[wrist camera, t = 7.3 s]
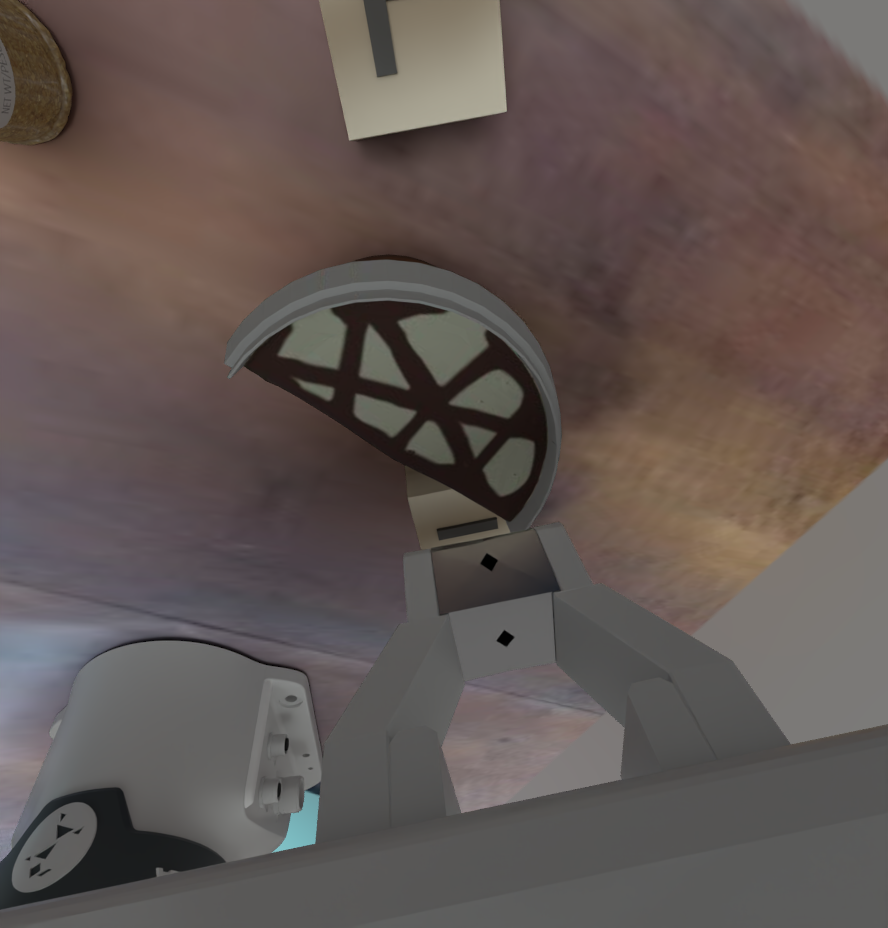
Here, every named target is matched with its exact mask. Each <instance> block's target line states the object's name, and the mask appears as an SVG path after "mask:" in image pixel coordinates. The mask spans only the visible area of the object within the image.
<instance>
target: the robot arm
mask: <svg viewBox="0 0 888 928" xmlns="http://www.w3.org/2000/svg"><path fill="white" fill-rule="evenodd" d="M403 568H404V582H405V597H406V612H407V623H403V624H399V625H398V627H397V629H396V630H395V632H394V633H393V635H392V637H391V638H390V640H389V641H388V643H387V645H386V646H385V648H384V649H383V651H382V653H381V654H380V656H379V657H378V659H377V660H376V662H375V664H374V665H373V667H372V668H371V670H370V672H369V673H368V675H367V676H366V678H365V680H364V681H363V683H362V684H361V686H360V688H359V689H358V691H357V692H356V694H355V696H354V697H353V699H352V700H351V702H350V704H349V705H348V707H347V708H346V710H345V711H344V713H343V715H342V716H341V718H340V719H339V721H338V723H337V724H336V726H335V727H334V729H333V731H332V732H331V734H330V735H329V737H328V739H327V740H326V742H325V743H324V753H323V757H322V752H321V746H320V741H319V736H318V730H317V725H316V720H315V714H314V709H313V704H312V698H311V693H310V688H309V683H308V679H307V677H306V675H305V674H303V673H301V672H299V671H296V670H292V669H287V668H281V667H275V666H268V665H264V664H261V663H258V662H255V661H253V660H251V659H249V658H246V657H244V656H242V655H240V654H237V653H235V652H232V651H229V650H226V649H223V648H219V647H216V646H211V645H207V644H201V643H195V642H186V641H150V642H142V643H135V644H130V645H126V646H122V647H119V648H116V649H113V650H110V651H108V652H105V653H103V654H101V655H99V656H97V657H96V658H94V659H93V660H91V661H90V662H88V663H87V664H86V665H85V666H84V667H83V668H82V669H81V670H80V671H79V673H78V674H77V676H76V678H75V680H74V682H73V686H72V690H71V694H70V697H69V701H68V704H67V706H66V707H65V708H64V709H63V710H62V711H61V712H59V714H58V715H57V716H56V717H55V719H54V722H53V724H52V726H51V729H50V731H49V735H50V737H51V738H52V739H53V742H52V744H51V746H50V749H49V751H48V753H47V755H46V758H45V760H44V762H43V765H42V767H41V770H40V772H39V774H38V777H37V779H36V781H35V784H34V786H33V788H32V791H31V793H30V795H29V798H28V800H27V803H26V805H25V807H24V810H23V812H22V814H21V817H20V819H19V822H18V824H17V827H16V829H15V831H14V834H13V837H12V840H11V848H12V850H11V852H10V853H9V854H8V855H7V856H6V857H5V858H4V859H3V860H2V861H1V862H0V928H888V724H887V725H882V726H877V727H873V728H868V729H863V730H858V731H853V732H849V733H844V734H839V735H834V736H829V737H824V738H820V739H815V740H810V741H805V742H800V743H796V744H790V742H789V741H788V739H787V738H786V737H785V735H784V734H783V732H782V731H781V729H780V728H779V727H778V725H777V724H776V722H775V721H774V720H773V718H772V717H771V715H770V714H769V713H768V711H767V709H766V708H765V707H764V705H763V704H762V702H761V701H760V699H759V698H758V697H757V695H756V694H755V692H754V691H753V689H752V688H751V686H750V685H749V684H748V682H747V681H746V679H745V678H744V676H743V675H742V674H741V672H740V671H739V670H738V668H737V667H736V665H735V664H734V662H733V661H732V660H730V659H729V658H727V657H726V656H724V655H722V654H720V653H719V652H717V651H715V650H714V649H712V648H710V647H709V646H707V645H705V644H703V643H702V642H700V641H699V640H697V639H695V638H693V637H692V636H690V635H688V634H687V633H685V632H683V631H682V630H680V629H678V628H677V627H675V626H673V625H672V624H670V623H668V622H666V621H665V620H663V619H661V618H660V617H658V616H656V615H655V614H653V613H651V612H650V611H648V610H646V609H644V608H643V607H641V606H639V605H638V604H636V603H634V602H633V601H631V600H629V599H628V598H626V597H624V596H623V595H621V594H619V593H617V592H616V591H614V590H612V589H611V588H609V587H607V586H606V585H604V584H602V583H600V584H595V585H593V583H592V581H591V579H590V577H589V575H588V573H587V571H586V569H585V567H584V565H583V563H582V561H581V559H580V557H579V555H578V553H577V551H576V549H575V547H574V545H573V543H572V541H571V539H570V537H569V536H568V534H567V532H566V530H565V528H564V526H563V524H561V523H560V522H556V523H552V524H547V525H543V526H538V527H534V528H530V529H526V530H521V531H516V532H511V533H507V534H502V535H497V536H492V537H487V538H483V539H478V540H472V541H467V542H461V543H455V544H450V545H444V546H439V547H433V548H431V549H425V550H419V551H413V552H408V553H404V556H403ZM551 663H557V666H559V667H560V668H561V669H562V670H563V671H564V672H565V673H566V674H567V675H568V676H569V677H570V678H571V679H573V680H574V681H575V682H576V683H577V684H578V685H579V686H580V687H581V688H582V689H583V690H584V691H586V692H587V693H588V694H589V695H590V696H591V697H592V698H593V699H594V700H595V701H596V702H597V703H598V704H600V705H601V706H602V707H603V708H604V709H605V710H606V711H607V712H608V713H609V714H611V716H613V717H614V718H615V719H616V720H617V721H618V722H619V723H620V724H621V725H622V726H623V727H624V728H625V730H624V741H623V753H622V765H621V775H620V776H621V779H622V780H618V781H614V782H608V783H604V784H599V785H594V786H589V787H585V788H580V789H575V790H571V791H566V792H561V793H556V794H551V795H546V796H541V797H537V798H532V799H527V800H523V801H518V802H513V803H508V804H503V805H498V806H494V807H489V808H484V809H479V810H474V811H470V812H465V813H461V810H460V807H459V803H458V800H457V797H456V794H455V790H454V787H453V784H452V781H451V777H450V774H449V771H448V768H447V764H446V761H445V758H444V755H443V751H442V748H441V747H442V744H443V741H444V739H445V736H446V733H447V731H448V728H449V725H450V723H451V720H452V717H453V715H454V712H455V709H456V707H457V704H458V701H459V699H460V696H461V693H462V691H463V688H464V685H465V683H464V681H468V680H473V679H477V678H481V677H485V676H490V675H494V674H498V673H502V672H507V671H512V670H517V669H523V668H529V667H534V666H540V665H545V664H551ZM320 781H321V787H320V798H319V810H318V820H317V832H316V843H315V844H312V845H307V846H303V847H298V848H293V849H288V850H283V851H279V852H274V853H272V852H273V851H274V850H275V849H276V848H278V847H279V846H280V844H281V843H282V842H283V841H284V839H285V837H286V834H287V831H288V826H289V821H290V815H291V813H296V812H299V811H301V810H302V807H303V802H304V791H305V790H307V789H309V788H311V787H313V786H314V785H316V784H317V783H319V782H320Z"/></svg>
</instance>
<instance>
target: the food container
mask: <svg viewBox="0 0 888 928" xmlns="http://www.w3.org/2000/svg"><path fill="white" fill-rule="evenodd" d="M224 364H226V365H227V366H229V367H231V370H230V372H229V375H228V377H227V378H229V379H230V378H231V377H232V376H234V375H235V374H236V373H237V372H238V371H239V370H240V369H241V368H242V367H243V366H244V367H246V368H247V369H249V370H250V371H252V372H254V373H255V374H257V375H259V376H260V377H261V378H263V379H264V380H265V381H267V382H269V383H272V384H274V385H277V386H279V387H280V388H282V389H284V390H286V391H288V392H290V393H292V394H293V395H295V396H297V397H298V398H300V399H302V400H303V401H305V402H307V403H308V404H310V405H311V406H313V407H315V408H316V409H318V410H320V411H321V412H323V413H325V414H326V415H328V416H329V417H331V418H332V419H334V420H335V421H337V422H339V423H340V424H342V425H343V426H345V427H346V428H348V429H349V430H351V431H352V432H354V433H355V434H356V435H358V436H359V437H361V438H362V439H364V440H365V441H367V442H368V443H369V444H371V445H373V446H374V447H376V448H377V449H379V450H380V451H382V452H383V453H385V454H386V455H388V456H389V457H391V458H392V459H394V460H396V461H398V462H400V463H401V464H403V465H405V466H407V467H409V468H411V469H413V470H415V471H417V472H419V473H421V474H424V475H426V476H428V477H430V478H432V479H434V480H436V481H438V482H440V483H442V484H444V485H446V486H448V487H450V488H451V489H453V490H455V491H457V492H458V493H460V494H462V495H463V496H465V497H467V498H469V499H470V500H472V501H474V502H475V503H477V504H479V505H481V506H482V507H484V508H486V509H487V510H489V511H491V512H492V513H494V514H496V515H497V516H499V517H501V518H503V519H504V520H505V521H506V523H507V526H508V528H509V530H510V533H511V532H516V531H521V530H526V529H528V528H529V527H530V526H531V524H532V523H533V521H534V520H535V519H536V517H537V516H538V514H539V513H540V511H541V510H542V508H543V506H544V504H545V501H546V499H547V497H548V495H549V493H550V491H551V488H552V485H553V481H554V478H555V474H556V471H557V465H558V461H559V455H560V447H561V438H562V432H561V417H560V409H559V404H558V399H557V394H556V389H555V385H554V381H553V377H552V374H551V370H550V366H549V364H548V362H547V360H546V358H545V355H544V353H543V351H542V349H541V347H540V345H539V343H538V341H537V340H536V339H535V337H534V336H533V334H532V333H531V331H530V330H529V329H528V327H527V326H526V324H525V323H524V321H523V320H522V319H521V318H520V317H518V316H517V315H516V314H515V313H514V312H513V311H512V310H511V309H510V308H509V307H508V306H507V305H506V304H505V303H504V302H503V301H502V300H500V299H499V298H498V297H496V296H495V295H493V294H492V293H490V292H489V291H487V290H486V289H485V288H483V287H482V286H480V285H479V284H477V283H475V282H472V281H470V280H468V279H466V278H464V277H462V276H459V275H457V274H455V273H453V272H451V271H447V270H444V269H440V268H437V267H435V266H433V265H431V264H429V263H426V262H424V261H422V260H418V259H415V258H411V257H407V256H398V255H380V256H371V257H367V258H363V259H359V260H355V261H353V262H350V263H346V264H342V265H338V266H334V267H329V268H325V269H321V270H319V271H316V272H314V273H312V274H309V275H307V276H305V277H302V278H300V279H298V280H295V281H293V282H291V283H289V284H288V285H286V286H285V287H283V288H282V289H280V290H279V291H277V292H276V293H274V294H273V295H271V296H270V297H268V298H267V299H265V300H264V301H263V302H262V303H261V304H260V305H259V306H258V307H257V308H256V309H255V310H254V311H252V312H251V313H250V314H249V315H248V316H247V317H246V318H245V319H244V320H243V321H242V323H241V324H240V325H239V327H238V328H237V330H236V331H235V332H234V334H233V335H232V336H231V338H230V339H229V341H228V342H227V348H226V355H225V362H224Z"/></svg>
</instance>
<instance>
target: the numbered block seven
mask: <svg viewBox="0 0 888 928" xmlns="http://www.w3.org/2000/svg"><path fill="white" fill-rule="evenodd" d="M319 3H320V7H321V12H322V16H323V21H324V26H325V30H326V35H327V40H328V44H329V49H330V53H331V58H332V63H333V67H334V72H335V77H336V81H337V86H338V90H339V95H340V100H341V104H342V109H343V114H344V118H345V123H346V127H347V132H348V137H349V140H353V141H356V140H361V139H367V138H372V137H378V136H383V135H389V134H394V133H400V132H405V131H411V130H416V129H422V128H427V127H432V126H438V125H443V124H449V123H454V122H460V121H465V120H471V119H476V118H481V117H486V116H490V115H495V114H499V113H503V112H507V106H506V91H505V76H504V61H503V44H502V29H501V13H500V0H319Z"/></svg>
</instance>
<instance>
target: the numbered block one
mask: <svg viewBox="0 0 888 928" xmlns="http://www.w3.org/2000/svg"><path fill="white" fill-rule="evenodd" d="M405 474H406V486H407V498H408V502H409V506H410V510H411V513H412V517H413V521H414V525H415V529H416V532H417V536H418V540H419V544H420V548H421V550H425V549H431V548H433V547H439V546H444V545H450V544H455V543H461V542H467V541H472V540H478V539H483V538H487V537H492V536H497V535H502V534H507V533H510V530H509V528H508V526H507V523H506V521H505V520H504V519H503V518H501V517H499V516H497V515H496V514H494V513H492V512H491V511H489V510H487V509H486V508H484V507H482V506H481V505H479V504H477V503H475V502H474V501H472V500H470V499H469V498H467V497H465V496H463V495H462V494H460V493H458V492H457V491H455V490H453V489H451V488H450V487H448V486H446V485H444V484H442V483H440V482H438V481H436V480H434V479H432V478H430V477H428V476H426V475H424V474H421V473H419V472H417V471H415V470H413V469H411V468H409V467H407V466H405Z"/></svg>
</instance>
